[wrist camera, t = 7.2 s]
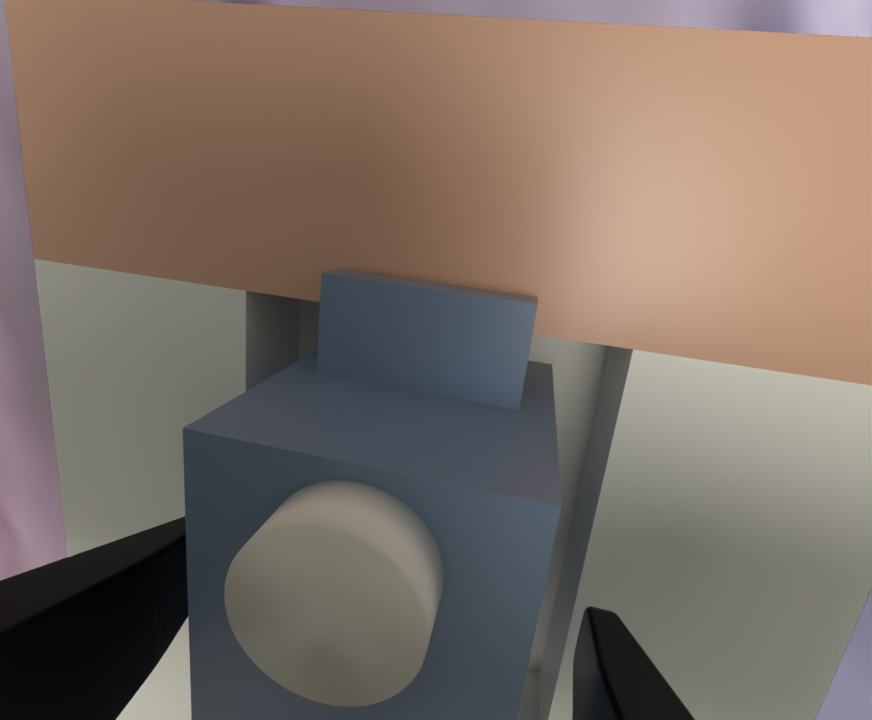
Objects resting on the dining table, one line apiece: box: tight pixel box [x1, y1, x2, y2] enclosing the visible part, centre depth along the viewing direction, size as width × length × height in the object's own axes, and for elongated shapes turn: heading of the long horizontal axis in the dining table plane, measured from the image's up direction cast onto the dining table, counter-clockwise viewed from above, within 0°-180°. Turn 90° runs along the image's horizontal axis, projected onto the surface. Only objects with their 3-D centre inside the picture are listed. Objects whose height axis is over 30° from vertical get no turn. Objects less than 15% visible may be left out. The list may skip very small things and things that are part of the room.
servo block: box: [183, 269, 562, 720], centre depth 8 cm, size 9×4×6 cm, turn 173°
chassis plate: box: [5, 0, 872, 720], centre depth 10 cm, size 16×14×3 cm
